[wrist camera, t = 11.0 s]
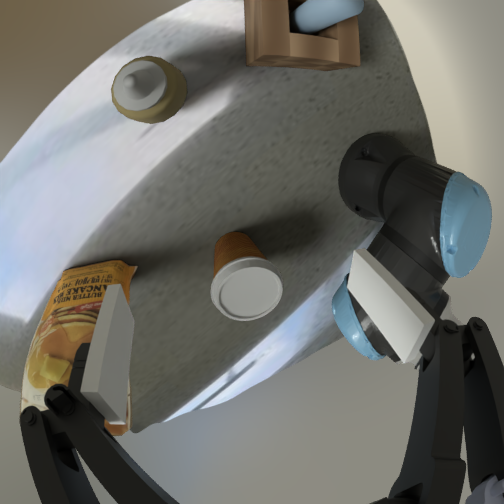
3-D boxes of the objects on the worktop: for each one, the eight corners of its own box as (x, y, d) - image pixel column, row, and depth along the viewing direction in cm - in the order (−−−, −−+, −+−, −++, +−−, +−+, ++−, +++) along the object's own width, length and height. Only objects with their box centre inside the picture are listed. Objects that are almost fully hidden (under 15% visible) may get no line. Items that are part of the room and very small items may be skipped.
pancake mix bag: (153, 285, 44) (146, 445, 21) (62, 300, 42) (19, 433, 18) (142, 251, 41) (116, 419, 17) (47, 271, 38) (-15, 404, 14)
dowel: (307, 17, 26) (361, -12, 14) (308, 41, 28) (365, 19, 17) (279, 14, 26) (324, -23, 14) (280, 38, 28) (328, 10, 16)
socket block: (323, 4, 27) (354, -13, 19) (326, 71, 33) (360, 66, 25) (243, -6, 25) (259, -31, 17) (246, 66, 31) (263, 54, 23)
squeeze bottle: (126, 123, 31) (76, 137, 16) (131, 66, 27) (87, 37, 12) (184, 123, 33) (180, 134, 18) (191, 66, 29) (193, 30, 14)
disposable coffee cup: (274, 243, 46) (300, 286, 35) (236, 283, 48) (251, 332, 38) (231, 210, 41) (247, 249, 31) (192, 255, 43) (196, 304, 33)
